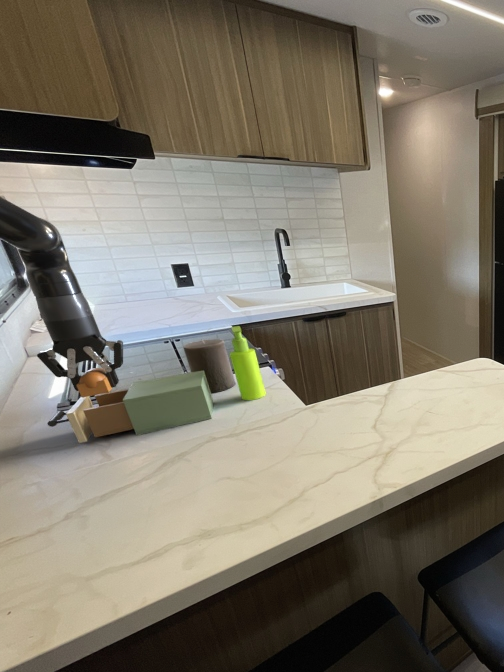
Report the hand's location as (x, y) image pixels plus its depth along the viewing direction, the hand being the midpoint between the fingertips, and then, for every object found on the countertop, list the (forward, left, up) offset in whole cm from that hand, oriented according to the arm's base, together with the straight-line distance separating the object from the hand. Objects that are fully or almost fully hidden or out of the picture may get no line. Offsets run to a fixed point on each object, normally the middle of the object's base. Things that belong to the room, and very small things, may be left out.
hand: (98, 388), depth 92 cm
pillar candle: (+20, +18, -11) cm, 29 cm away
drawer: (0, 0, -10) cm, 10 cm away
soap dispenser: (+29, +3, -11) cm, 31 cm away
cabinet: (+12, 0, -11) cm, 16 cm away
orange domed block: (0, 0, 0) cm, 0 cm away
